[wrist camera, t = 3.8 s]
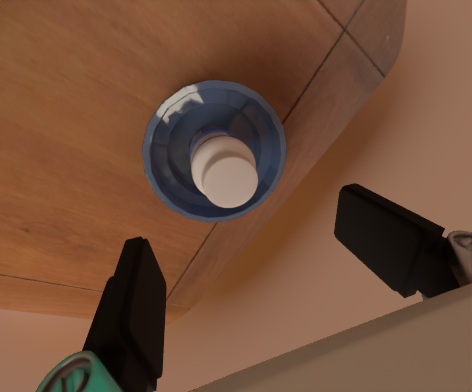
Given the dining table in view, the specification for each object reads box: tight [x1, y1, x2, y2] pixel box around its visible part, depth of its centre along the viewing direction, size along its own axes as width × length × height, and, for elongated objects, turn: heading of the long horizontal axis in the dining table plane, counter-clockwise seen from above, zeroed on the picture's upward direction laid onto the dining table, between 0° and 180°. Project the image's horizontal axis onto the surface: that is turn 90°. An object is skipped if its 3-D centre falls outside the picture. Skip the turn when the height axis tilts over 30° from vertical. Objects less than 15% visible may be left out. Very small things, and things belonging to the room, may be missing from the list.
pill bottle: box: [189, 126, 258, 208], centre depth 19 cm, size 5×5×10 cm
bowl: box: [142, 79, 287, 222], centre depth 21 cm, size 13×13×5 cm
